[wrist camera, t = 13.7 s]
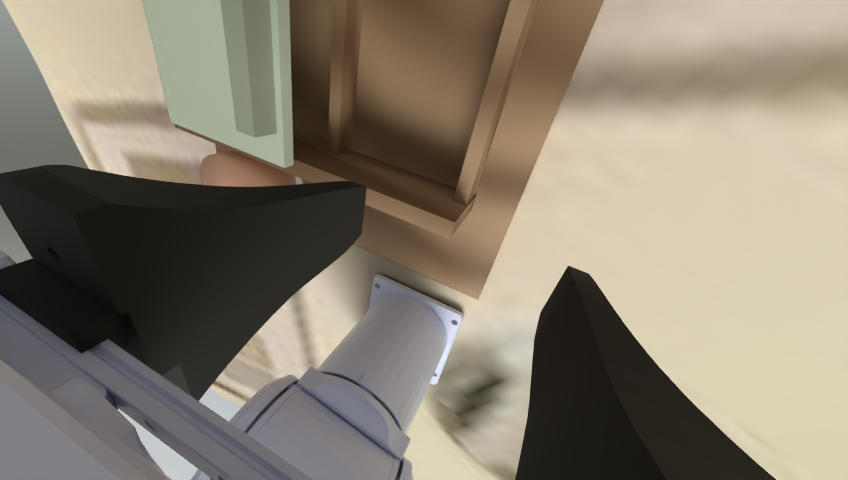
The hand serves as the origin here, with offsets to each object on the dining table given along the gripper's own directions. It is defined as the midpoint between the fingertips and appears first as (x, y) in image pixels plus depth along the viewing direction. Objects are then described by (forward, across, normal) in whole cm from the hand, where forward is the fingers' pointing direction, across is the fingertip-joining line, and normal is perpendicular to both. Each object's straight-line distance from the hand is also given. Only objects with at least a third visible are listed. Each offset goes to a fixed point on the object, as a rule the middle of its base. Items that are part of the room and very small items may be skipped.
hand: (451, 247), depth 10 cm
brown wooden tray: (+9, +11, -1) cm, 15 cm away
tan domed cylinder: (+8, +17, +6) cm, 20 cm away
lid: (+5, +15, -4) cm, 17 cm away
